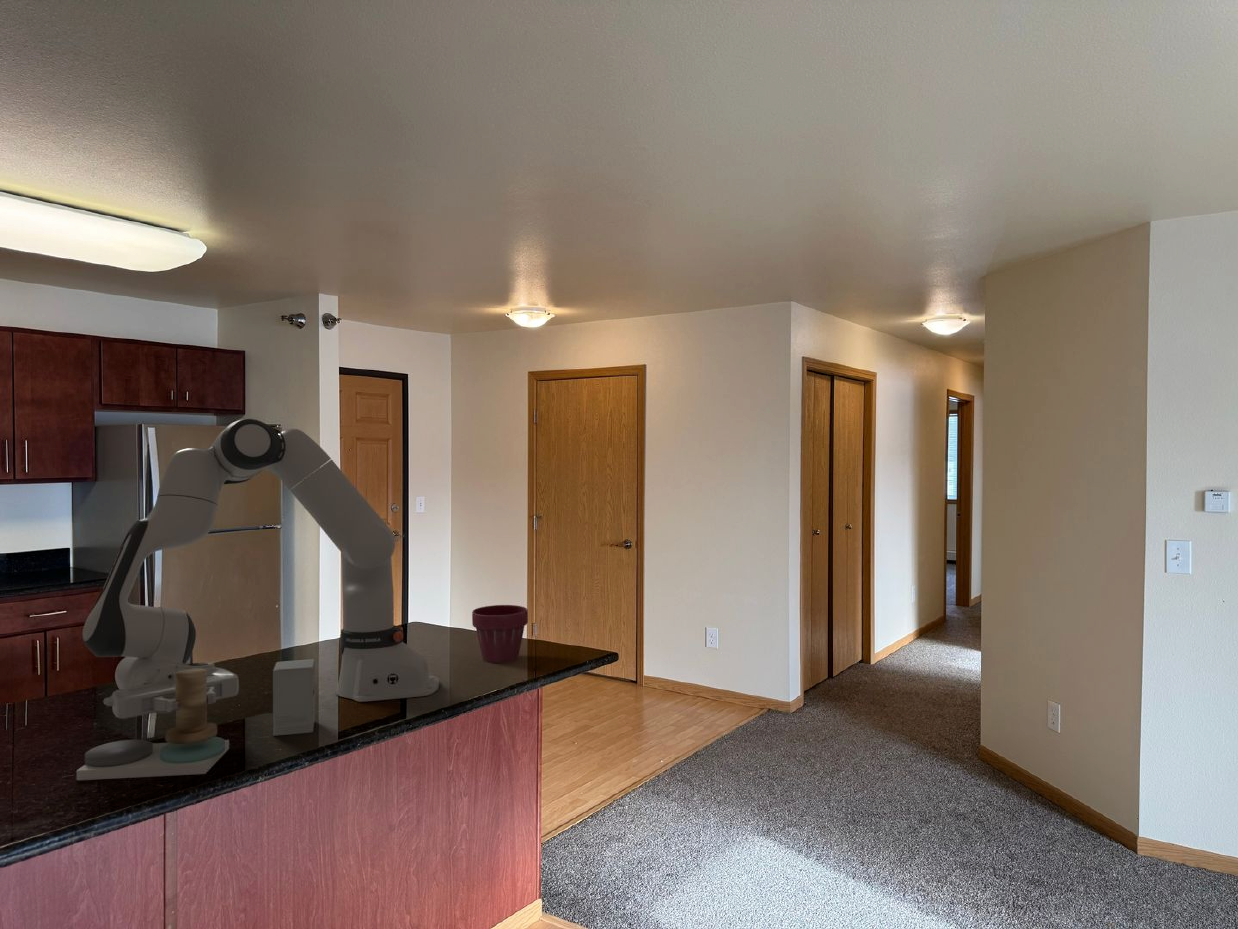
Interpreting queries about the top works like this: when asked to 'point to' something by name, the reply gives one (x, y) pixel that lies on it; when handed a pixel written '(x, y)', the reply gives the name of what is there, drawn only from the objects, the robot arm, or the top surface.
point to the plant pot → (500, 631)
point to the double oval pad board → (150, 759)
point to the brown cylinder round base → (191, 709)
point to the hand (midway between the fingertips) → (193, 702)
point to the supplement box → (293, 697)
